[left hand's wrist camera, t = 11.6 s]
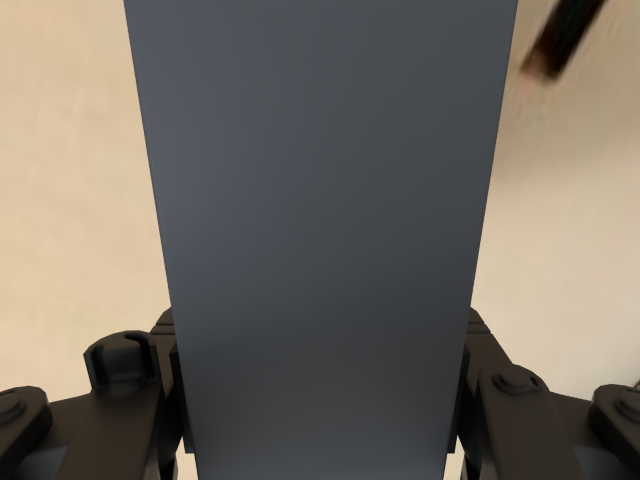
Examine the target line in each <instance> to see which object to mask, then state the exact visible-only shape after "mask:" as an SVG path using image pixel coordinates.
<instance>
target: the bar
mask: <svg viewBox="0 0 640 480" xmlns="http://www.w3.org/2000/svg"><path fill="white" fill-rule="evenodd" d="M123 1H124V7H125V13H126V20H127V26H128V33H129V39H130V46H131V52H132V58H133V65H134V71H135V78H136V84H137V90H138V97H139V103H140V110H141V116H142V122H143V129H144V135H145V142H146V148H147V154H148V161H149V167H150V174H151V180H152V186H153V193H154V199H155V206H156V212H157V219H158V225H159V231H160V238H161V244H162V251H163V257H164V263H165V270H166V276H167V283H168V289H169V295H170V302H171V308H172V315H173V321H174V327H175V334H176V340H177V347H178V353H179V359H180V366H181V372H182V379H183V385H184V392H185V398H186V404H187V411H188V417H189V424H190V430H191V436H192V443H193V449H194V456H195V462H196V468H197V475H198V480H443V478H444V471H445V465H446V459H447V452H448V446H449V439H450V433H451V427H452V420H453V414H454V407H455V401H456V395H457V388H458V382H459V375H460V369H461V363H462V356H463V350H464V343H465V337H466V330H467V324H468V318H469V311H470V305H471V298H472V292H473V286H474V279H475V273H476V266H477V260H478V254H479V247H480V241H481V234H482V228H483V222H484V215H485V209H486V202H487V196H488V190H489V183H490V177H491V170H492V164H493V158H494V151H495V145H496V138H497V132H498V126H499V119H500V113H501V106H502V100H503V94H504V87H505V81H506V74H507V68H508V62H509V55H510V49H511V42H512V36H513V30H514V23H515V17H516V10H517V4H518V0H123Z"/></svg>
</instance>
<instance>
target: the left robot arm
mask: <svg viewBox="0 0 640 480" xmlns="http://www.w3.org/2000/svg"><path fill="white" fill-rule="evenodd" d="M83 356H84V360H85V364H86V367H87V371H88V375H89V379H90V383H91V387H92V390H91V392H90V393H89V394H85V395H82V396H78V397H73V398H69V399H64V400H60V401H55V402H51V403H49V402H48V398H47V395H46V393H45V392H44V391H43V390H42V389H41V388H39V387H33V386H23V387H15V388H12V389H8V390H5V391H2V392H0V480H177V476H178V466H177V459H176V454H175V453H176V451H177V448H178V446H179V443H180V441H181V438H182V436H183V442H184V448H185V453H194V449H193V443H192V436H191V430H190V424H189V417H188V411H187V404H186V398H185V392H184V385H183V379H182V372H181V366H180V359H179V353H178V347H177V340H176V334H175V327H174V321H173V315H172V308H171V307H170V308H169V309H167V310H166V311H165V312H163V314H162V315H161V316H160V318H159V319H158V321H157V322H156V326H154V327H153V328H152V330H151V331H150V333H148V332H144V331H140V330H133V331H123V332H118V333H114V334H111V335H109V336H106V337H104V338H102V339H100V340H98V341H97V342H95V343H94V344H92V345H91V346H89V348H88V349H87V350H86V351H85V353H84V354H83ZM457 435H458V437H459V439H460V442H461V444H462V447H463V450H464V452H465V454H464V459H463V465H462V471H461V476H460V480H640V384H639V385H638V386H637V387H636V388H635V389H634V388H632V387H628V386H624V385H615V384H609V385H603V386H600V387H599V388H597V389H596V390H595V391H594V394H593V397H592V401H588V400H583V399H579V398H574V397H570V396H565V395H561V394H557V393H554V392H550V391H549V389H548V387H547V386H546V384H545V383H544V381H543V380H542V379H541V378H540V377H539V376H537V375H536V374H535V373H533V372H532V371H530V370H528V369H526V368H524V367H522V366H519V365H515V364H513V363H512V362H511V360H510V359H509V358H508V356H507V355H506V353H505V352H504V350H503V349H502V347H501V346H500V344H499V343H498V341H497V340H496V339H495V337H494V336H493V334H491V331H490V330H489V328H488V327H487V325H486V324H484V321H483V320H482V318H481V317H480V315H479V314H478V312H477V311H476V310H474V309H473V308H471V307H470V311H469V318H468V324H467V330H466V337H465V343H464V350H463V356H462V363H461V369H460V375H459V382H458V388H457V395H456V401H455V407H454V414H453V420H452V427H451V433H450V439H449V446H448V452H447V453H455V447H456V441H457Z"/></svg>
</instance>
